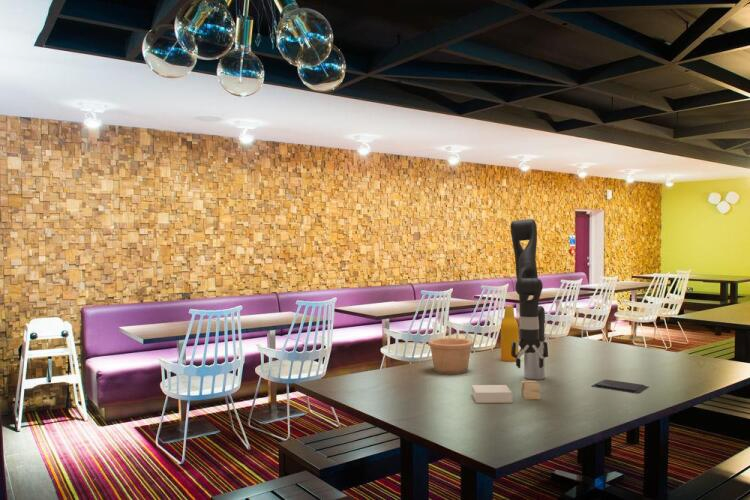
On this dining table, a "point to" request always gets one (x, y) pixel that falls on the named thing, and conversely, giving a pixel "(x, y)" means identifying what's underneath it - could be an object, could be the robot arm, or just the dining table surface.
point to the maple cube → (530, 389)
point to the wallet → (621, 386)
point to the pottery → (450, 355)
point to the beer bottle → (508, 334)
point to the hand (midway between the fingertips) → (529, 367)
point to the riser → (491, 394)
